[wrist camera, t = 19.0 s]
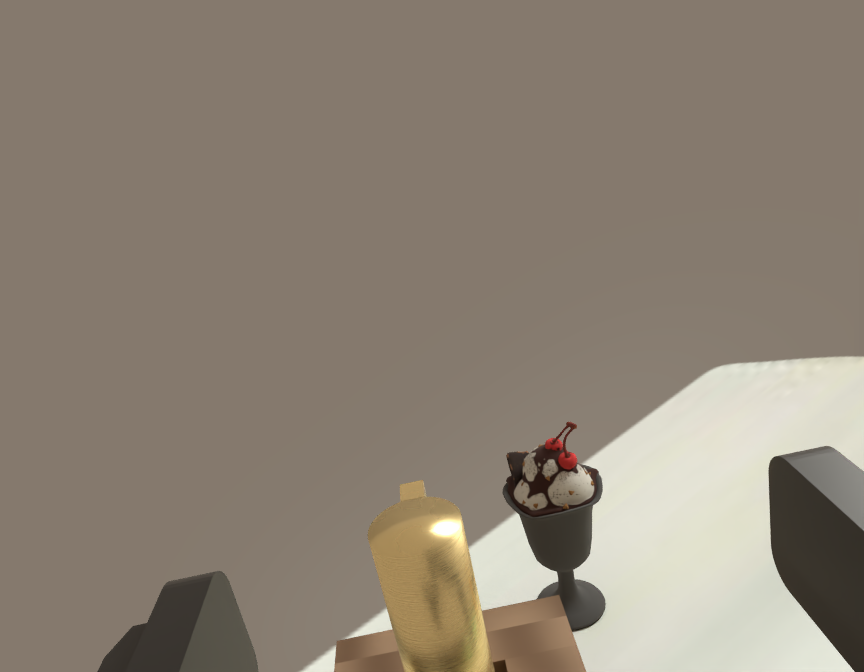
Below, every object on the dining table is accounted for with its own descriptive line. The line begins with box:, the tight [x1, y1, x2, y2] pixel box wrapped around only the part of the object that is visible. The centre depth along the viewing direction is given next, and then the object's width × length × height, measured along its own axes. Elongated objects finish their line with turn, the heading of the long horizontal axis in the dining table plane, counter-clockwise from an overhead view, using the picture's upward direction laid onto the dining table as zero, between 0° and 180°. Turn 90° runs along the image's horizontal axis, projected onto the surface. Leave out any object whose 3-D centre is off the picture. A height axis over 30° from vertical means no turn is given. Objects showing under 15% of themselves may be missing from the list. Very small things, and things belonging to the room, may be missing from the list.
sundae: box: [503, 422, 605, 630], centre depth 47 cm, size 7×7×15 cm
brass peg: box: [368, 480, 495, 672], centre depth 36 cm, size 4×6×18 cm
